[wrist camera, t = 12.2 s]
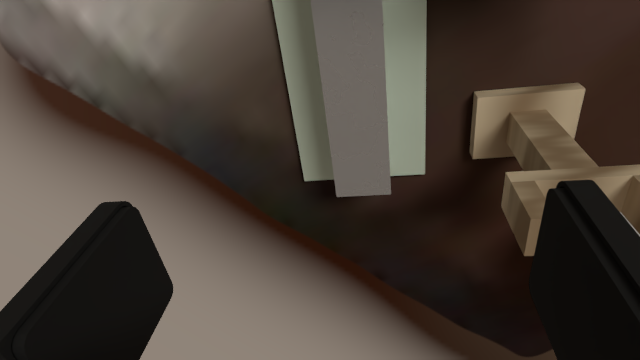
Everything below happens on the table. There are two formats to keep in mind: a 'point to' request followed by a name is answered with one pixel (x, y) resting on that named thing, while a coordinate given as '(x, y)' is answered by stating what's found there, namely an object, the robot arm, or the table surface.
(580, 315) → the robot arm
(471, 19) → the table surface
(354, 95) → the steel bar
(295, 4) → the sage mat
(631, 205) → the forked stand
